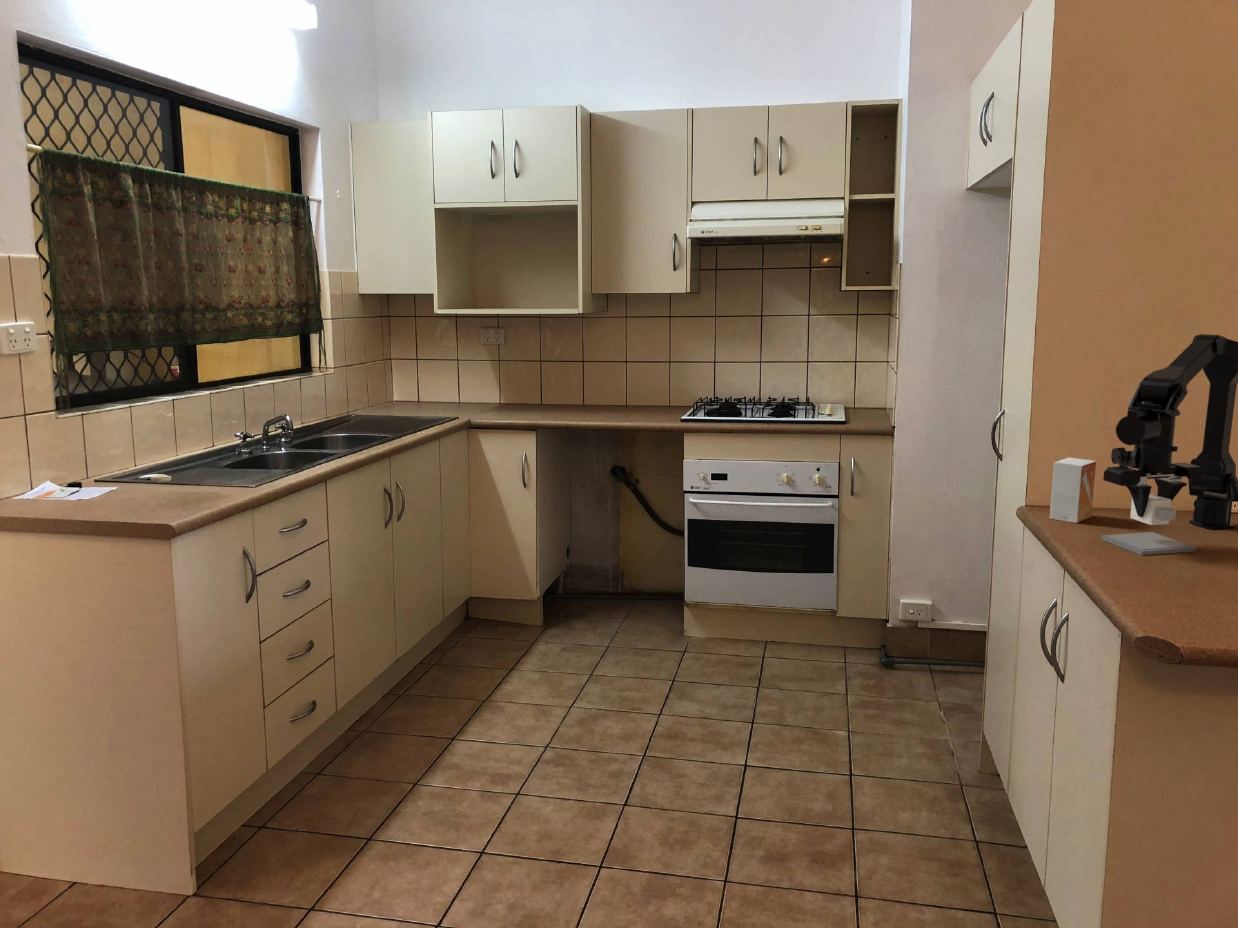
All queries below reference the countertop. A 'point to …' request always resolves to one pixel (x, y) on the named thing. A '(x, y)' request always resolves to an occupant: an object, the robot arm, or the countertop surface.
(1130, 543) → the plate
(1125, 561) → the countertop surface
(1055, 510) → the small box
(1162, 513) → the connector
